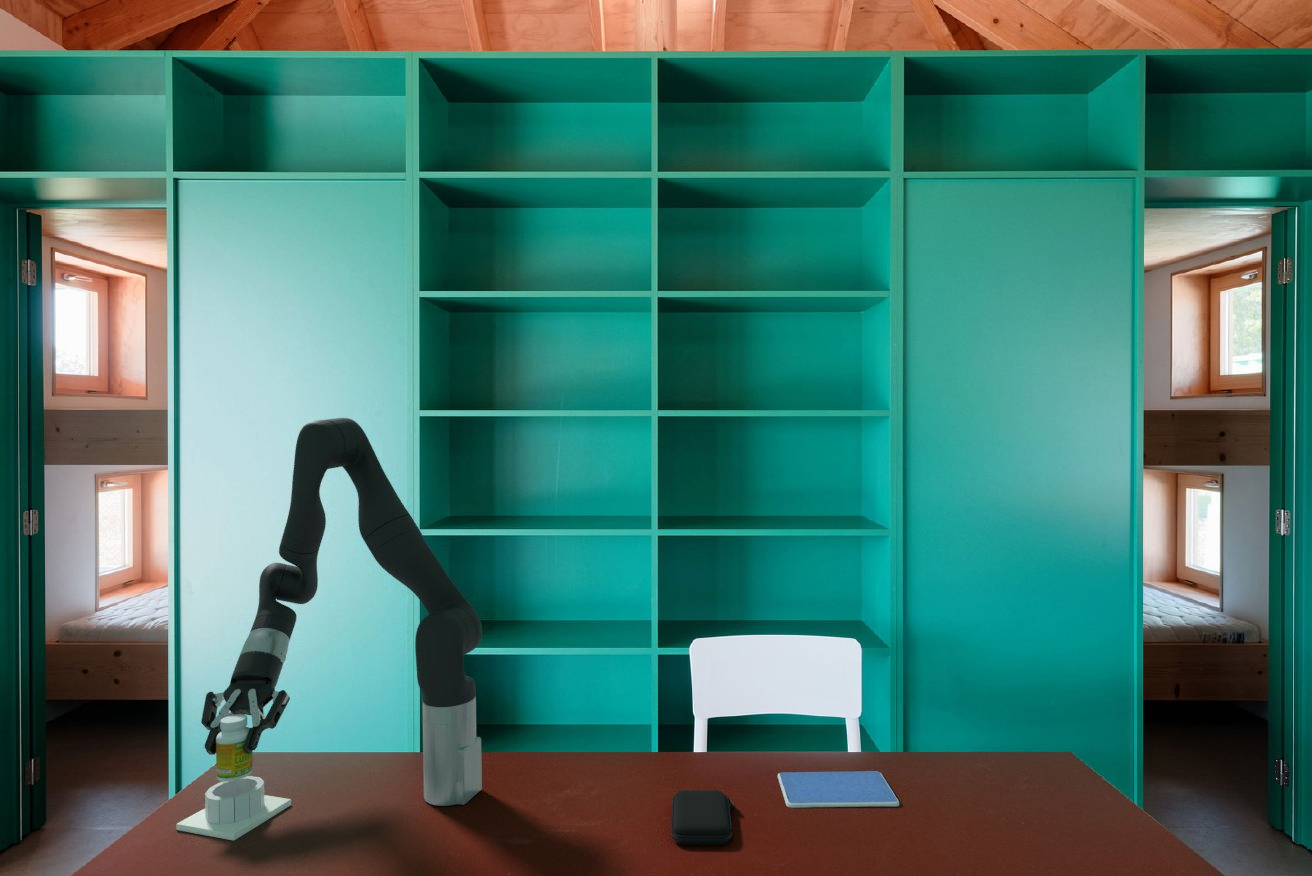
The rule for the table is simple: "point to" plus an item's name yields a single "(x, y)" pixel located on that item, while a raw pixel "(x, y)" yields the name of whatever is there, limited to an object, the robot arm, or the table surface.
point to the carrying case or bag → (701, 817)
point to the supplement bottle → (232, 749)
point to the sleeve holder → (234, 809)
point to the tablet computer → (836, 789)
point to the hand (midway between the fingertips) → (228, 752)
